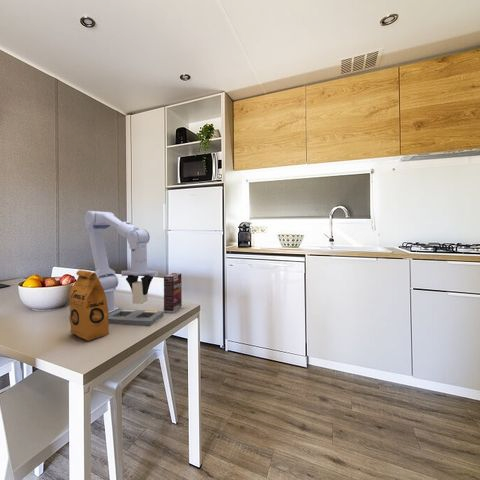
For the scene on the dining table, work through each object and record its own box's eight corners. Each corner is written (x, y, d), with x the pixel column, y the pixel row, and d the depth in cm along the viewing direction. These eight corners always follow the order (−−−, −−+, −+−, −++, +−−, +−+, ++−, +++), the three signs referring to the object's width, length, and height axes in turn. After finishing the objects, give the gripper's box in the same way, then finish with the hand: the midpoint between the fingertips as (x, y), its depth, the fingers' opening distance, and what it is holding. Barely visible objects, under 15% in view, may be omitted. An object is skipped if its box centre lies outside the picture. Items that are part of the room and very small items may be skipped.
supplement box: (173, 313, 104) (173, 276, 103) (163, 312, 105) (162, 276, 104) (182, 306, 112) (182, 273, 111) (172, 306, 113) (172, 272, 112)
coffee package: (81, 345, 76) (79, 275, 75) (66, 334, 83) (64, 271, 82) (113, 333, 84) (112, 271, 82) (97, 325, 91) (95, 267, 90)
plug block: (132, 303, 94) (132, 283, 94) (138, 300, 98) (137, 281, 98) (142, 303, 94) (141, 283, 94) (147, 300, 98) (147, 281, 97)
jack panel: (101, 323, 93) (101, 318, 93) (119, 313, 104) (119, 308, 104) (150, 325, 90) (150, 320, 90) (163, 315, 101) (163, 310, 101)
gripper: (115, 261, 93) (117, 296, 93) (151, 261, 90) (152, 297, 91) (127, 259, 100) (128, 291, 100) (160, 259, 97) (160, 292, 98)
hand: (140, 294), depth 96 cm, fingers closed on plug block, 4 cm apart
